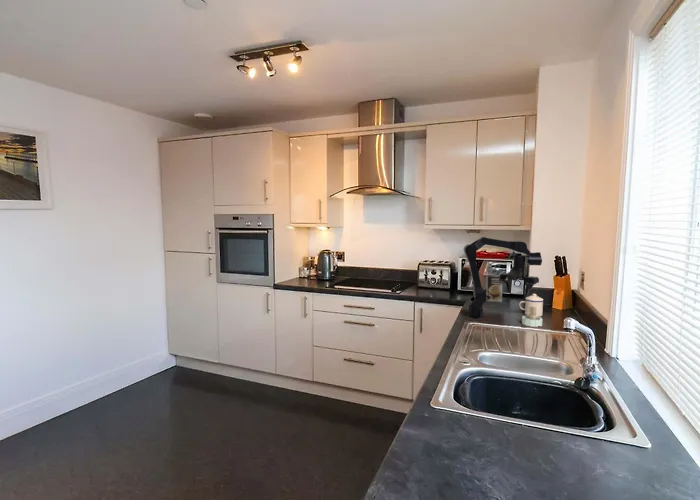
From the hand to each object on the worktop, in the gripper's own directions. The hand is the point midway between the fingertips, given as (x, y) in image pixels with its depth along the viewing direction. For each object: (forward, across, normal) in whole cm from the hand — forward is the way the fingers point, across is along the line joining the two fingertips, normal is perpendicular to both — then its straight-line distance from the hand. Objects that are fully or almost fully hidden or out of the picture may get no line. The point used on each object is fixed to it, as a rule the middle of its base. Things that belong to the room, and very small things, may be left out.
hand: (518, 294), depth 198 cm
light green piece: (+13, +10, -4) cm, 17 cm away
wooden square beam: (+12, +10, -4) cm, 16 cm away
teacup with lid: (+13, +1, +13) cm, 19 cm away
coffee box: (+13, -30, +28) cm, 43 cm away
